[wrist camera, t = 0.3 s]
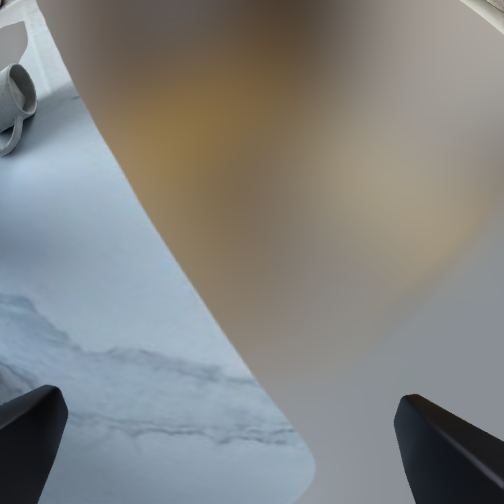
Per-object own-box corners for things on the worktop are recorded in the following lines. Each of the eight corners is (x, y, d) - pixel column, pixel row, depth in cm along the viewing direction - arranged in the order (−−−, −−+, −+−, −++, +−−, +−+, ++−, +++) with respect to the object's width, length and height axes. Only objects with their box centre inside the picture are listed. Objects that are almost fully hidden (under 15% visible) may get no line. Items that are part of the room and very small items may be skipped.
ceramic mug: (-5, 115, 32) (-31, 83, 24) (39, 89, 33) (16, 51, 25) (-15, 171, 29) (-50, 138, 21) (34, 142, 30) (1, 102, 22)
